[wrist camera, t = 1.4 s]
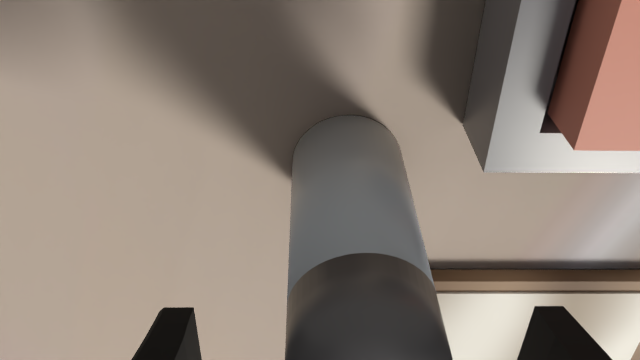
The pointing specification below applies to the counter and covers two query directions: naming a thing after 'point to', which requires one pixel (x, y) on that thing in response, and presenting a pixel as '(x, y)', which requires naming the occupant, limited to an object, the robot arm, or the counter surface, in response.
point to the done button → (600, 78)
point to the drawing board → (523, 295)
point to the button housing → (526, 93)
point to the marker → (357, 251)
